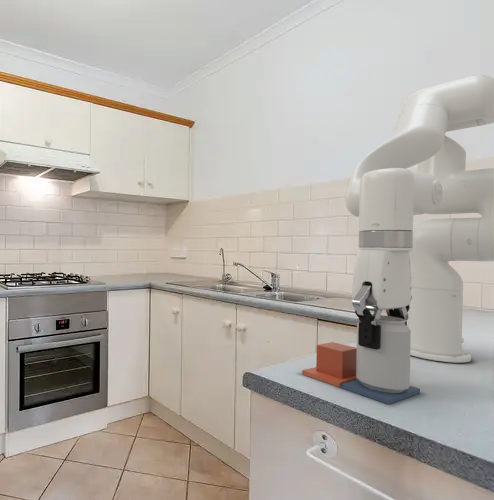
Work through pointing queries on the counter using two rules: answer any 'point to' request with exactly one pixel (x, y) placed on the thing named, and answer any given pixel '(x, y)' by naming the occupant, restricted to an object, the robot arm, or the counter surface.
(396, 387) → the can
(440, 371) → the counter surface
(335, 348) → the terracotta block
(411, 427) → the counter surface
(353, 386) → the sorting board
